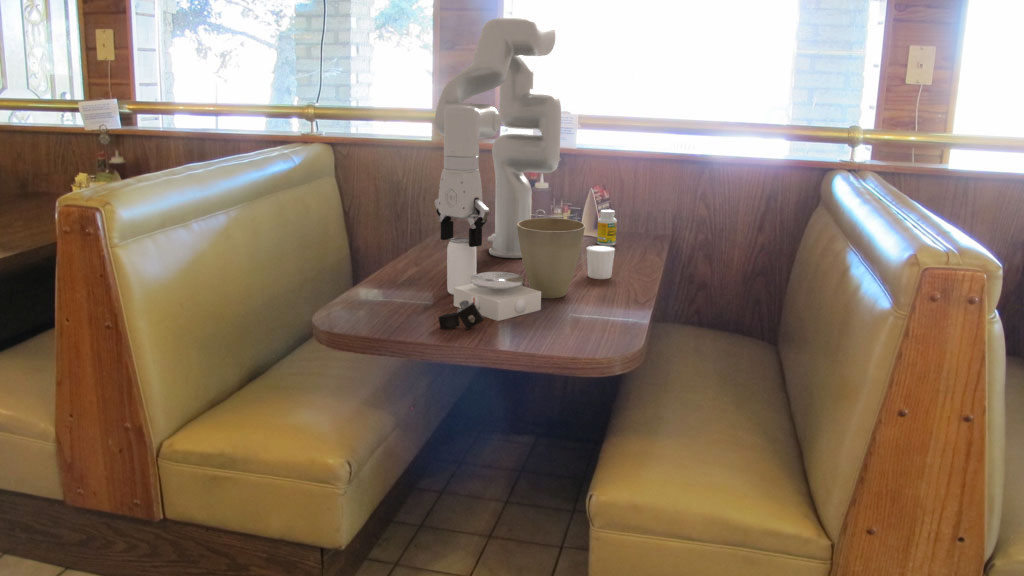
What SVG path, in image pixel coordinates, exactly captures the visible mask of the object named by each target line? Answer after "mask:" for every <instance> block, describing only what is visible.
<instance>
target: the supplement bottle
mask: <svg viewBox="0 0 1024 576" xmlns="http://www.w3.org/2000/svg"><path fill="white" fill-rule="evenodd" d="M615 214H616V212H615V210H613V209H601V210H600V214H599V215H600V217H598V219H597V233H596V234H597V235H596V243H597V245H602V246H610V247H613V246H616V243H617V228H618V227H617V225H618V224H617V222H618V220H617V218H616V217H615Z"/></svg>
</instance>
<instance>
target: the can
mask: <svg viewBox="0 0 1024 576" xmlns="http://www.w3.org/2000/svg"><path fill="white" fill-rule="evenodd" d="M448 241H449V242H448V244H447V246H446V249H447V250H446V252H447V253H446V256H447V257H446V261H447V262H446V264H447V265H446V267H447V270H446V276H447V277H446V281H447V282H446V283H447V285H446V287H447V292H448V293H449V295H452V296H454V287H459V286H463V285H468V284H472V283H471V277H472V276H473V275H476V274H477V246H476V247H470V246H469V237H463V236H462V237H459V236H458V237H453V238H451V239H448Z"/></svg>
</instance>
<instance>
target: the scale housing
mask: <svg viewBox="0 0 1024 576" xmlns="http://www.w3.org/2000/svg"><path fill="white" fill-rule="evenodd" d="M464 300H465V301H466V300H467V301H469V304H470V303H474V304H475V306H476V308H477V309H478V311H479V313H480V314H481V315H482V316H483V317H485V318H488V319H491V320H494V321H496V322H499V321H503V320H507V319H511V318H515V317H519V316H522V315H528V314H531V313H534V312H539V311H541V309H542V298H541V291H538V290H534V289H531V287H528V286H523V285H521V286H518V287H515V288H508V289H488V288H482V287H477V286H475V285H473V284H468V285H463V286H459V287H454V295H453V306H454V307H456V308H458V309H461V306H460V305H459V303H460V302H462V301H464Z"/></svg>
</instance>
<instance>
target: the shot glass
mask: <svg viewBox="0 0 1024 576" xmlns="http://www.w3.org/2000/svg"><path fill="white" fill-rule="evenodd" d="M615 253H616V249H615V247H613V246H603V245H599V244H596V245H595V244H594V245H589V246H587V247H586V261H587V264H586V265H587V276H588V277H589V278H592V279H595V280H606V279H610V278H612V273H613V266H614V259H615Z"/></svg>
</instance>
